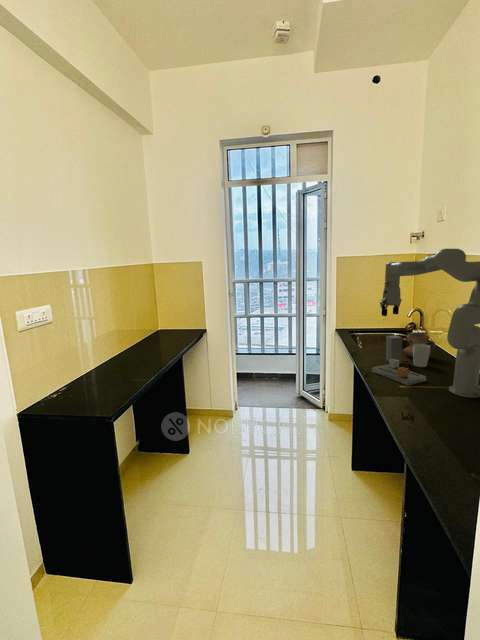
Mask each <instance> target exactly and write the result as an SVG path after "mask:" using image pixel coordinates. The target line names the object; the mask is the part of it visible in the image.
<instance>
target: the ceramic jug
mask: <svg viewBox="0 0 480 640" xmlns="http://www.w3.org/2000/svg"><path fill="white" fill-rule="evenodd" d="M402 341H404V342H405V341H406V342H408V343H409V346H407V347H405V349H402V352H403V353H404V354H405V355H406V356H407V357H410V358H413V344H427V345H429V343H430V344H432V345H431V347H430V355H431V354H432V352H433V351H434V349H435V347H436V343H435V341H434V340H431V339H430V335H429V334H427V333H419V332H410V333H407V338H402Z"/></svg>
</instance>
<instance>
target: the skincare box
mask: <svg viewBox="0 0 480 640" xmlns="http://www.w3.org/2000/svg"><path fill="white" fill-rule="evenodd" d="M385 338H386V339H385V361H387V362H388V363H389V360H391V359H397V360H399V365H402V364H403V337H402V336H399V335H393V334H392V335H386V337H385Z"/></svg>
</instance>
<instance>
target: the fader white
mask: <svg viewBox="0 0 480 640" xmlns="http://www.w3.org/2000/svg"><path fill="white" fill-rule="evenodd" d="M388 364H389V367H392V368H396V367H400V364H399V360H397V359H391V360H389V362H388Z"/></svg>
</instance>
